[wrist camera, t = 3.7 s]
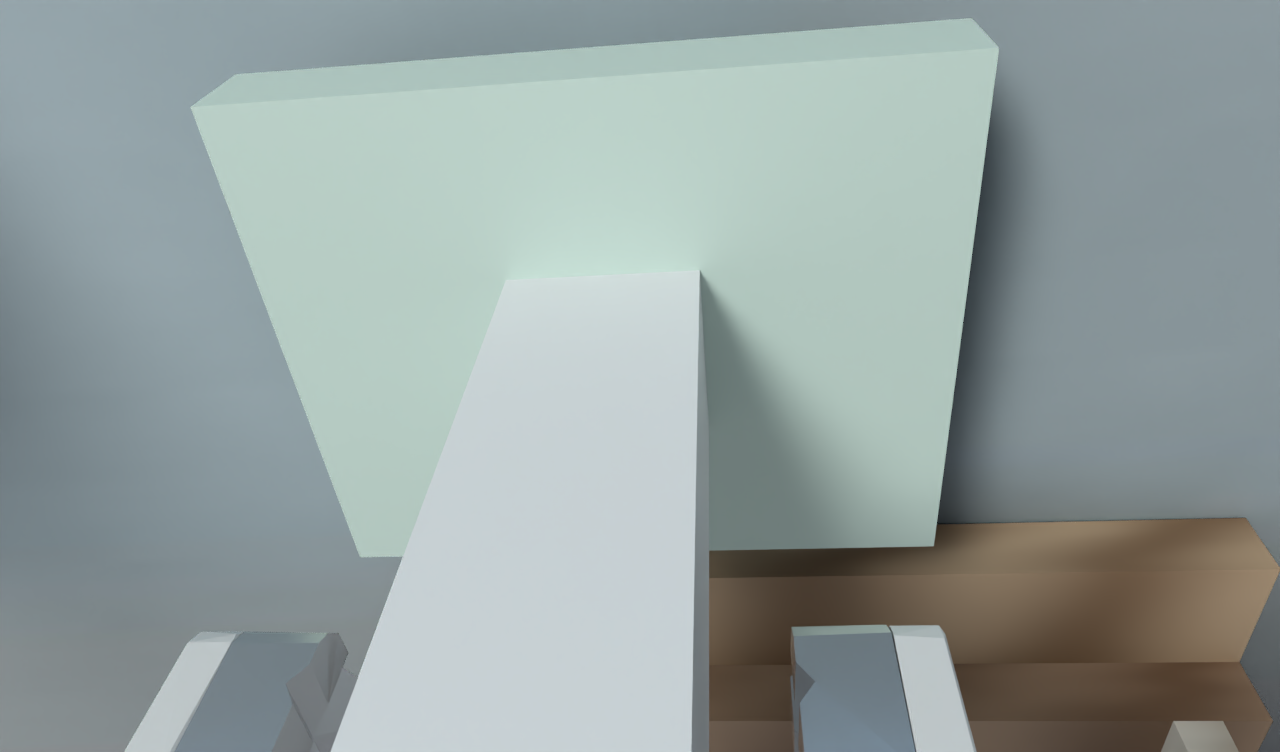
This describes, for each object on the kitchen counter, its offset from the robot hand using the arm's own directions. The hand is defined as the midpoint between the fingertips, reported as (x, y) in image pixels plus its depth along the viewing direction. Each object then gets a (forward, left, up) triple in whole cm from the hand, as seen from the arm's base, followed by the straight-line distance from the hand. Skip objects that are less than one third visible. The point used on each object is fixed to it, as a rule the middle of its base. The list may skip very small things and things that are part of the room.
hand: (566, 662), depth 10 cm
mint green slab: (0, 0, -9) cm, 9 cm away
